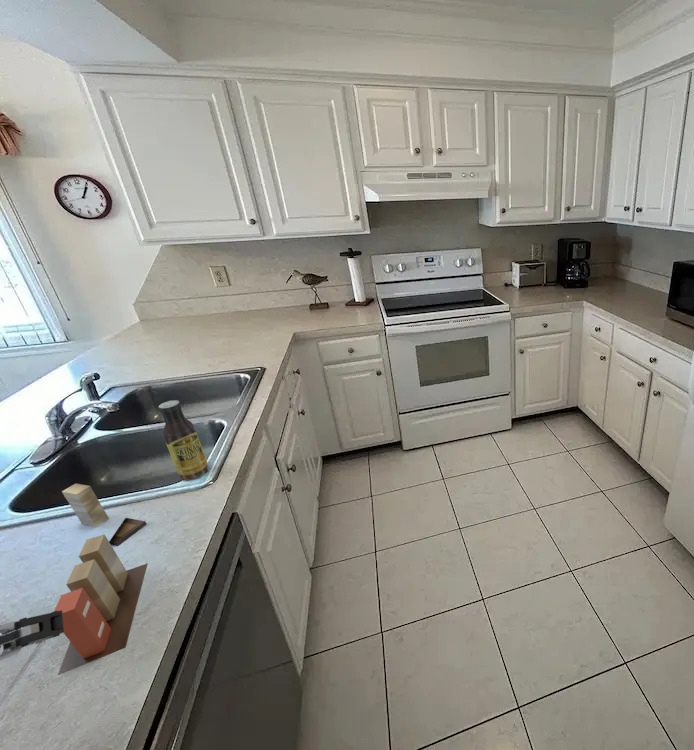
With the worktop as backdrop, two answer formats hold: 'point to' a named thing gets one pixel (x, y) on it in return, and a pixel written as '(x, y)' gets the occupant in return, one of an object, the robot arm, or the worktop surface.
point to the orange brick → (83, 623)
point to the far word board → (97, 512)
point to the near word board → (114, 624)
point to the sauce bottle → (182, 442)
